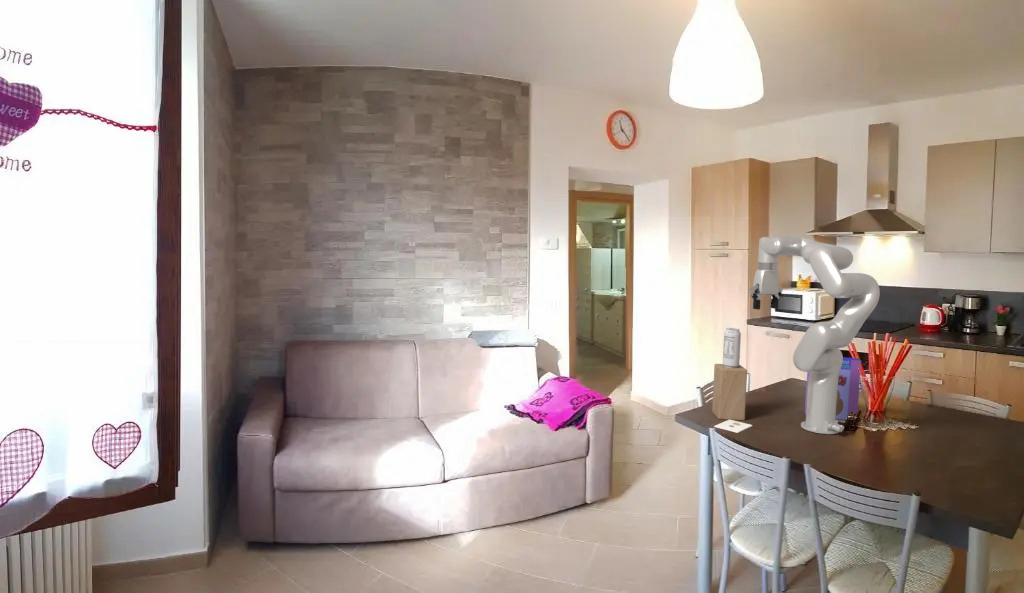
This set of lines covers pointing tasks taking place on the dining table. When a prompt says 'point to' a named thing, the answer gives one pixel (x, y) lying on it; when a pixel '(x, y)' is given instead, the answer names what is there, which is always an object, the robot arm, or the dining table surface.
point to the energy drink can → (731, 348)
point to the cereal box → (845, 388)
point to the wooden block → (729, 392)
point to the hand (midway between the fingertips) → (765, 308)
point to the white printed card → (733, 426)
